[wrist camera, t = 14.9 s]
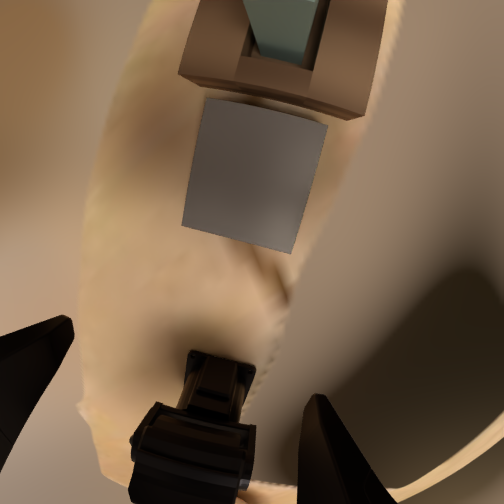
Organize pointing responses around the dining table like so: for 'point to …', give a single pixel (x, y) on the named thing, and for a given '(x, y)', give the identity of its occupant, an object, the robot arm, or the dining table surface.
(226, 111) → the plate
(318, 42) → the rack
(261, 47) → the block
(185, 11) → the dining table surface
